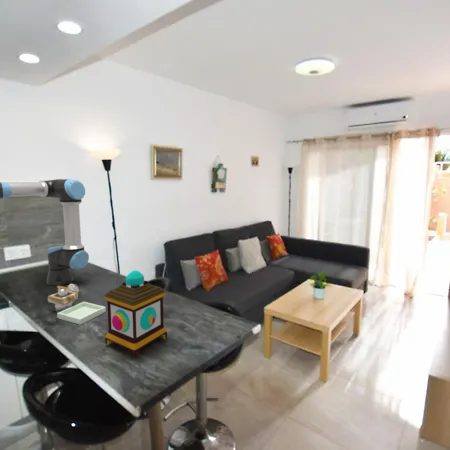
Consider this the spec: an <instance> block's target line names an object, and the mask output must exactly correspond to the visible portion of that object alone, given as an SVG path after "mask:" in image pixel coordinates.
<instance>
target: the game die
mask: <svg viewBox="0 0 450 450" xmlns="http://www.w3.org/2000/svg"><path fill="white" fill-rule="evenodd" d="M68 284H69V285H67V284H65V285H66V286H65V287H67V288H68V290H67V291H72V292H76V293H78V294H79V293H82V291H80V289H79V288H80V285H78V283H75V284H74V283H72V282H70V283H68Z"/></svg>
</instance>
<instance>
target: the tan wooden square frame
mask: <svg viewBox="0 0 450 450" xmlns="http://www.w3.org/2000/svg"><path fill="white" fill-rule="evenodd" d="M67 293H68V296H65V297H63V298H60V297H59V295H58V292H56V293H53V294H50V295H48V296H47V302H48V303H50V304H51V303H52V304H54V305H55V304H58V305H64V304H66V303H72V304H74V303H75V302H76V301H75V300H78V299H79V293H76V292H72V291H67Z"/></svg>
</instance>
